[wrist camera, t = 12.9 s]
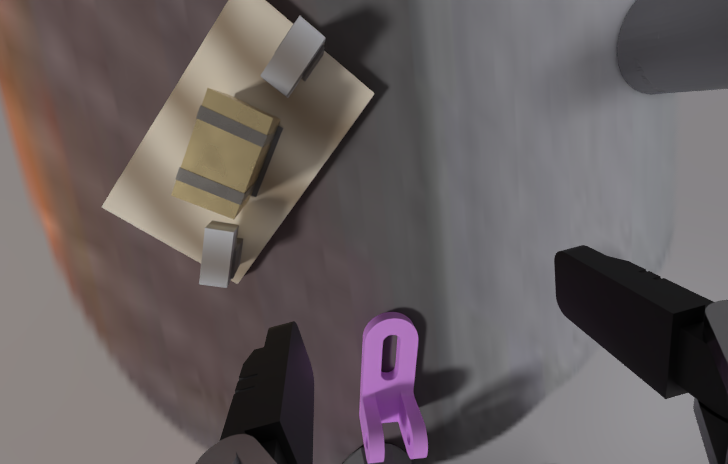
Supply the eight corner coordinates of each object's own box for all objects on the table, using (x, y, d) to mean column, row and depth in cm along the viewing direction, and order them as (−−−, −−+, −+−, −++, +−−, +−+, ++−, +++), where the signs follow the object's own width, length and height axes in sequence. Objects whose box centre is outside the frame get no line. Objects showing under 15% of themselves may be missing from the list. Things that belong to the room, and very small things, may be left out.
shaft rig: (245, -13, 26) (228, -47, 21) (371, 94, 29) (384, 89, 24) (111, 203, 29) (68, 220, 24) (240, 277, 32) (227, 306, 27)
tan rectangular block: (229, 94, 26) (206, 87, 20) (281, 119, 27) (273, 118, 21) (199, 180, 28) (169, 195, 22) (249, 200, 29) (234, 220, 23)
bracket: (407, 410, 40) (425, 467, 34) (359, 414, 39) (368, 473, 33) (416, 310, 36) (440, 351, 30) (363, 312, 36) (375, 355, 29)
